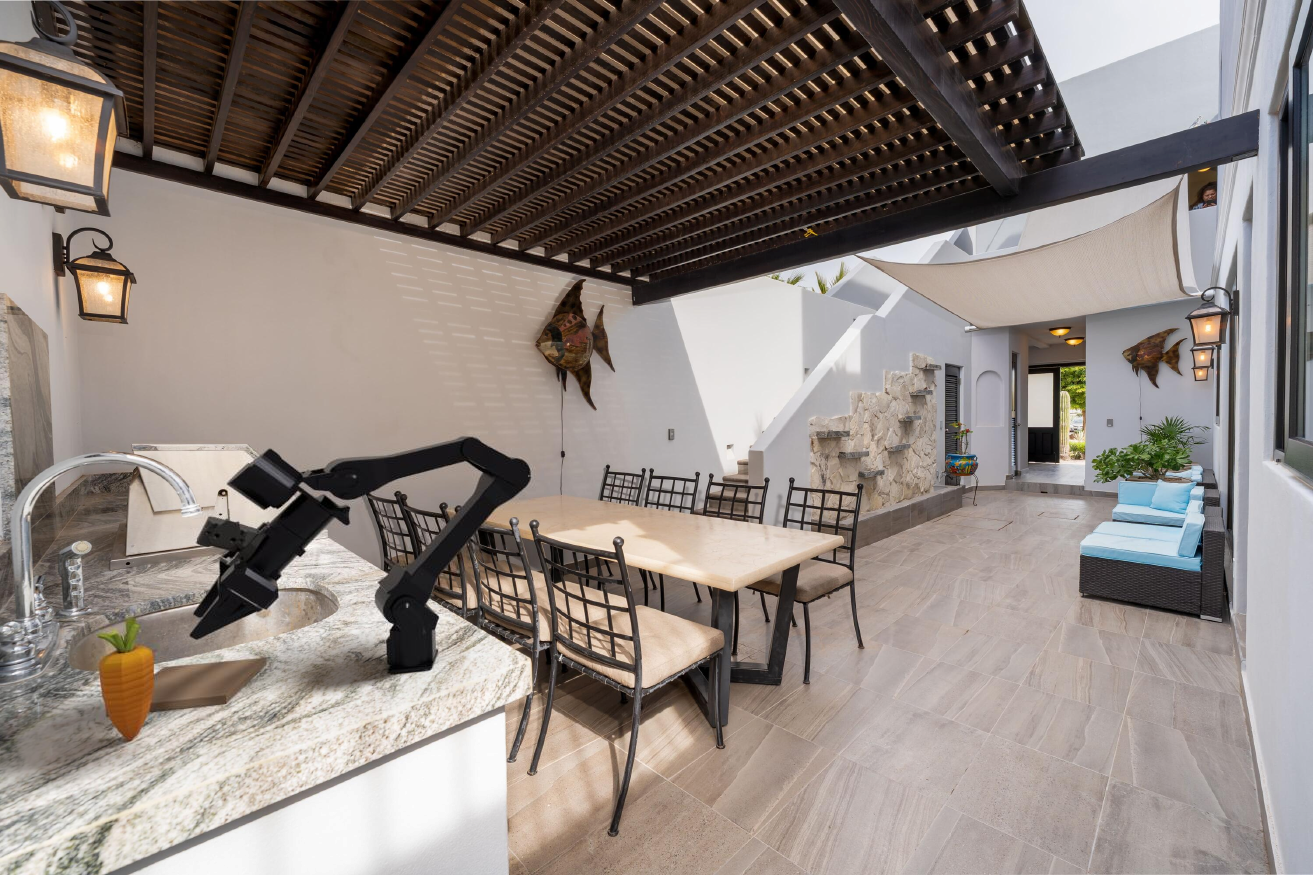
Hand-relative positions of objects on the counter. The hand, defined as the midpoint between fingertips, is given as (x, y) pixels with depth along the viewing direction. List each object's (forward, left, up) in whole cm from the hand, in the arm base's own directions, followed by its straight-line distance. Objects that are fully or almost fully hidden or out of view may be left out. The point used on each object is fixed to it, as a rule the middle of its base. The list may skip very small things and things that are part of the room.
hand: (194, 626), depth 72 cm
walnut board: (+6, -10, -13) cm, 17 cm away
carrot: (+6, +3, -13) cm, 14 cm away
